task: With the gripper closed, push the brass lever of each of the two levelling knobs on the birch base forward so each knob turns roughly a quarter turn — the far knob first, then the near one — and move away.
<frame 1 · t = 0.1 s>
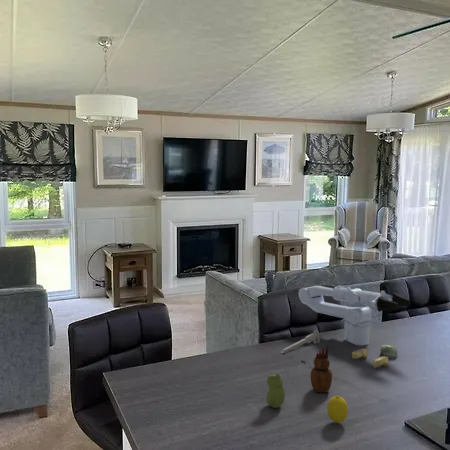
hand: (403, 304, 166), 22 cm above the table, tool horizontal, fingers open, 7 cm apart
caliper: (300, 349, 181), on the table
knob a: (359, 354, 166), point 3 cm above the table, hinge at 0.0°
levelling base: (380, 361, 168), on the table
knob b: (380, 362, 159), point 3 cm above the table, hinge at 0.0°
wooden figurine: (320, 391, 144), on the table
lemon: (337, 423, 125), on the table
pear: (275, 407, 134), on the table
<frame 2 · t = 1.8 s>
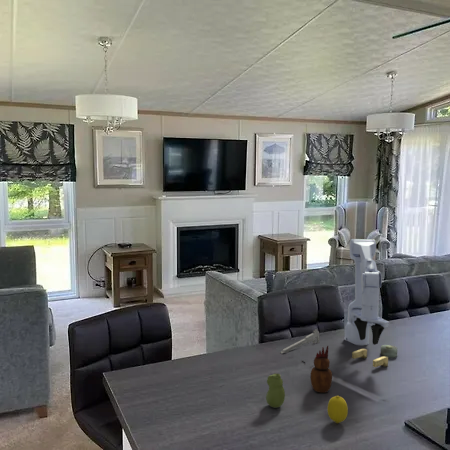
hand: (368, 341, 161), 10 cm above the table, tool pointing down, fingers open, 5 cm apart
nothing on the table moved.
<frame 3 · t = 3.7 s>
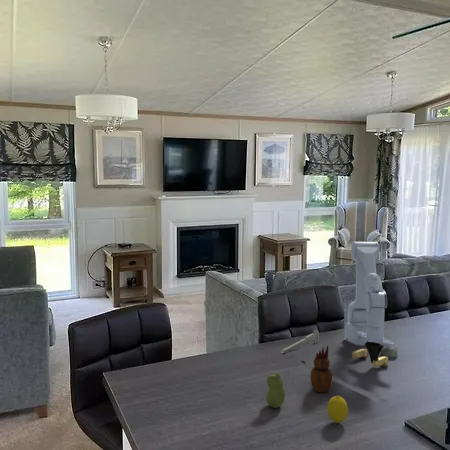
hand: (373, 362, 159), 3 cm above the table, tool pointing down, fingers closed, pressing on knob b
knob b: (380, 362, 159), point 3 cm above the table, hinge at 0.0°, touching gripper
everything else where it was.
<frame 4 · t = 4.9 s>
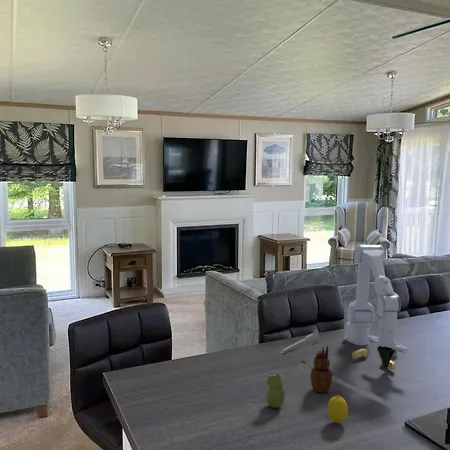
hand: (385, 367, 155), 3 cm above the table, tool pointing down, fingers closed, pressing on knob b
knob b: (388, 363, 158), point 3 cm above the table, hinge at 64.0°, touching gripper
everything else where it was.
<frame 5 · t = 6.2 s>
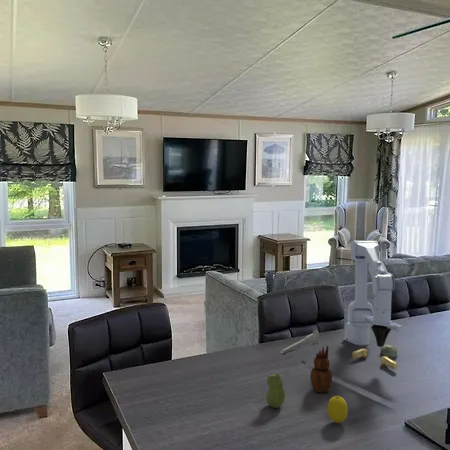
hand: (380, 345, 157), 10 cm above the table, tool pointing down, fingers closed
knob b: (388, 363, 158), point 3 cm above the table, hinge at 70.7°
everything else where it was.
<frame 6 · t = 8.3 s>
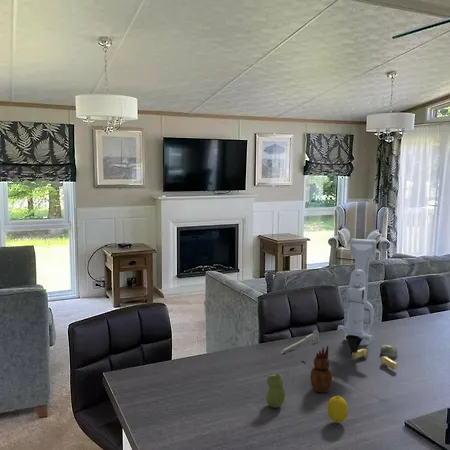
hand: (354, 354, 166), 3 cm above the table, tool pointing down, fingers closed, pressing on knob a
knob a: (359, 354, 166), point 3 cm above the table, hinge at 0.0°, touching gripper
knob b: (388, 363, 158), point 3 cm above the table, hinge at 71.4°
everything else where it was.
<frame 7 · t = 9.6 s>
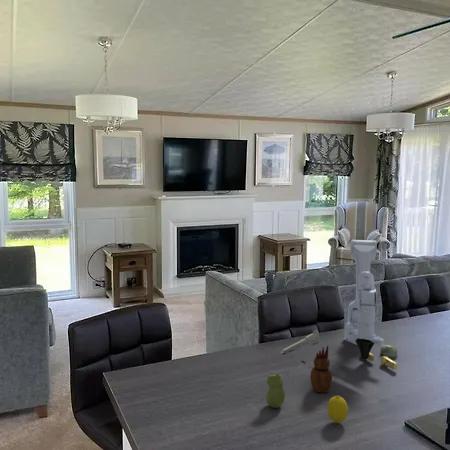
hand: (364, 358, 162), 3 cm above the table, tool pointing down, fingers closed
knob a: (366, 355, 165), point 3 cm above the table, hinge at 66.7°
everything else where it was.
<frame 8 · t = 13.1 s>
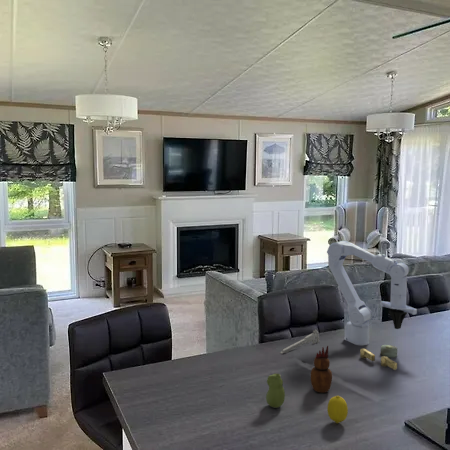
hand: (397, 328, 173), 10 cm above the table, tool pointing down, fingers closed
knob a: (367, 355, 165), point 3 cm above the table, hinge at 71.2°
everything else where it was.
at the end: knob a at +71° (first picture: +0°); knob b at +71° (first picture: +0°) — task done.
